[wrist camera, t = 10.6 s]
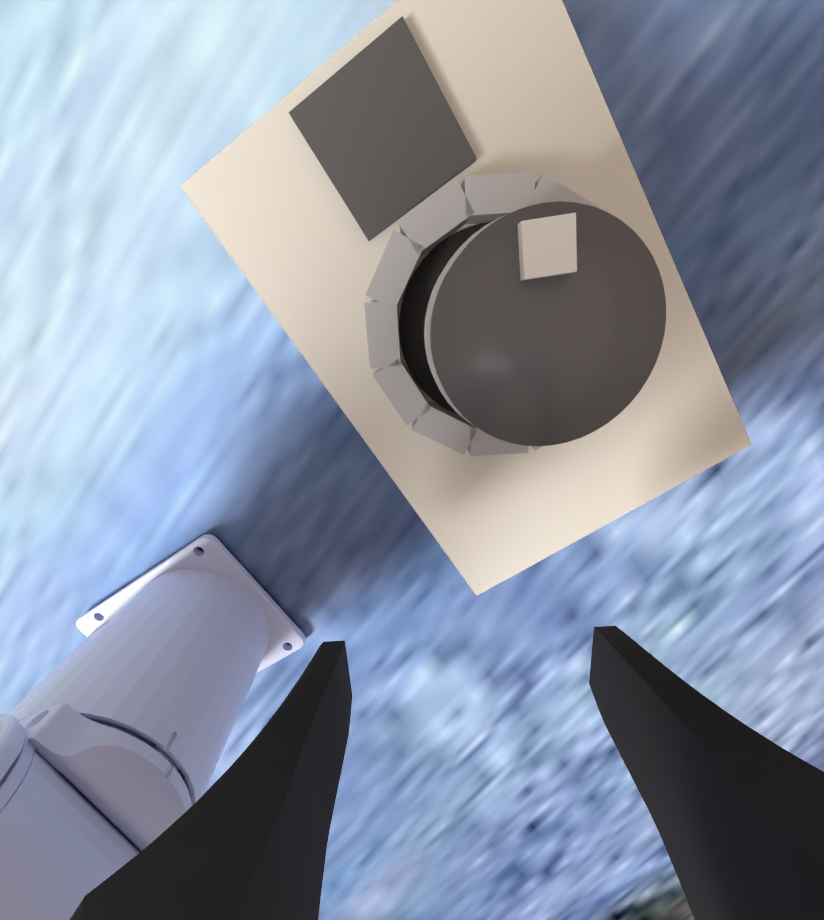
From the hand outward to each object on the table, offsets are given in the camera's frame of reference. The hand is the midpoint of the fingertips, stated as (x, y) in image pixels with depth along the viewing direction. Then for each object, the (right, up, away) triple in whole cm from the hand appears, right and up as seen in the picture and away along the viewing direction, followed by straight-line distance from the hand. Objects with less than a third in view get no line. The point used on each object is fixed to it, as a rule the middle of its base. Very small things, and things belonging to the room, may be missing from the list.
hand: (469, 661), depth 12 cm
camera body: (+1, +12, +6) cm, 13 cm away
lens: (+1, +10, +2) cm, 11 cm away
